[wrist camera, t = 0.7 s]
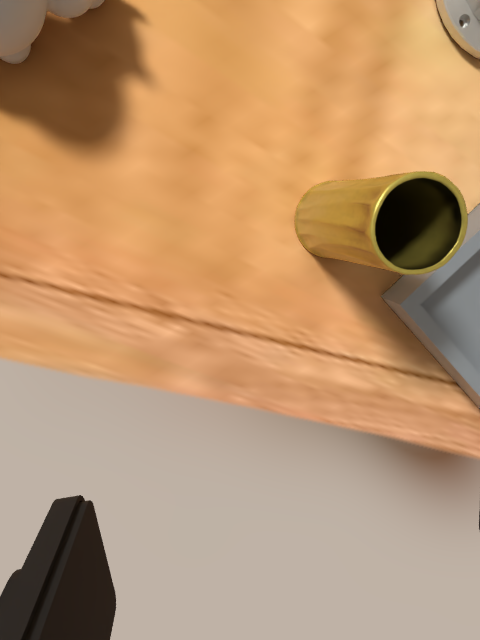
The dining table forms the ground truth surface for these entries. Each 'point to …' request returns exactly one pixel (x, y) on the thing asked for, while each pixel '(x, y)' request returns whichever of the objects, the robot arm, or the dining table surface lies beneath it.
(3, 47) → the chubby cartoon animal
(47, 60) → the dining table surface
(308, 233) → the vase
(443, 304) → the tray
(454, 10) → the robot arm
